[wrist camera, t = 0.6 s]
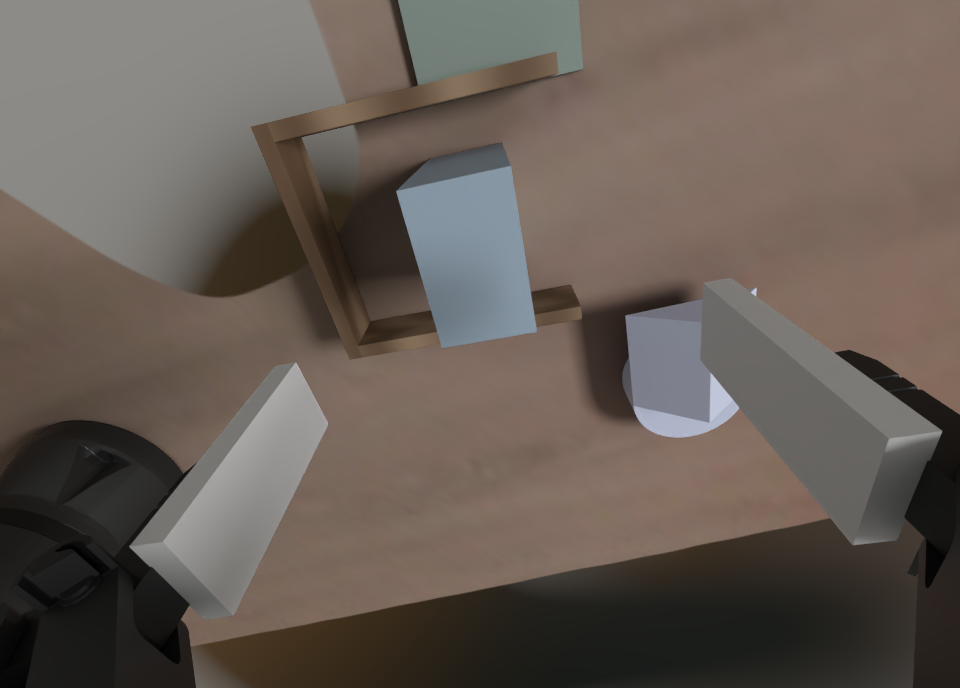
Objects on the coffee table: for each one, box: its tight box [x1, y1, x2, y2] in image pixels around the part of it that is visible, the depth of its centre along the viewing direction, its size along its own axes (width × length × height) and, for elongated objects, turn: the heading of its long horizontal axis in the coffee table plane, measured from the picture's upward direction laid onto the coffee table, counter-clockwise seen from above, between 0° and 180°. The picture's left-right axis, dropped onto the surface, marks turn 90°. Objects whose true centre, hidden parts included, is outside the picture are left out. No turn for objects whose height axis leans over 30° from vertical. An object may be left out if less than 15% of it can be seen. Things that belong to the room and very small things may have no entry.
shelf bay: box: [251, 52, 582, 359], centre depth 29 cm, size 18×16×4 cm
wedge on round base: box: [622, 288, 757, 437], centre depth 33 cm, size 9×7×13 cm
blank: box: [396, 142, 537, 348], centre depth 25 cm, size 5×8×12 cm, turn 12°
